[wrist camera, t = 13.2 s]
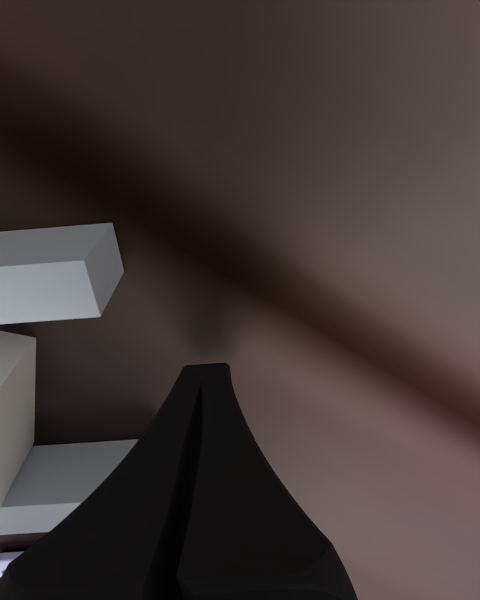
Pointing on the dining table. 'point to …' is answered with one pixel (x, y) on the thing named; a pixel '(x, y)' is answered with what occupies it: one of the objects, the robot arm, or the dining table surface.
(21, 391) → the white block
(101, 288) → the dock
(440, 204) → the dining table surface
